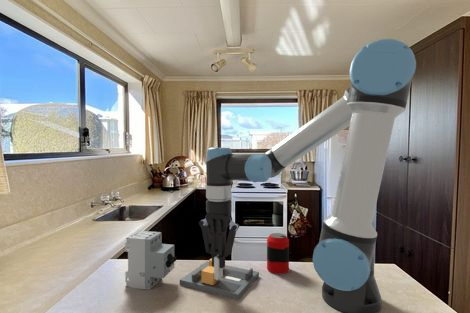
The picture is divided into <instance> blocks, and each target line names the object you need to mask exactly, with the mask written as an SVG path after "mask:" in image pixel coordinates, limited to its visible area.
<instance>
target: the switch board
mask: <svg viewBox="0 0 470 313" xmlns="http://www.w3.org/2000/svg"><path fill="white" fill-rule="evenodd" d="M208 266H209V260H208V261H205V262H204V263H203V264H201V265H199V266H198V267H196V268H195V269H194V270H192V271H191V272H189V273H188V274H187V275H185V276H183V277H181V278H180V279H179V285H180V286H184V287H187V288H192V289H195V290H199V291H202V292H206V293H211V294H213V295H218V296H220V297H226V298H229V299H232V300H237V301H239V299H241V297H242V296H243V295H244V294H245V293H246V291H248V289H250V287H251V286H253V284H254V283H255V282H256V280H257V279H258V278H259V277H260V273H259V271H255V270H254V268H249V269H245V268H243V267H236V266H232V265H226V264H225V269H224V270H223V277H221V278H220V280H218V281H217V282H216V283H215V284H214V285H210V284H206V283H202V282H201V271H202V270H203V269H205V268H206V267H208Z"/></svg>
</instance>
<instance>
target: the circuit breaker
mask: <svg viewBox="0 0 470 313" xmlns="http://www.w3.org/2000/svg"><path fill="white" fill-rule="evenodd" d="M162 234H163V233H162V231H161V232H160V231H145V230H142V231H141V230H139V231H137V232H135V233H133V234H131V235H129V236H127V237H125V239H126V242H125V244H124V246H125V247H124V249H125V250H124V252H126V253H127V270H126V271H125V272H124V273H125V274H124V275H125V288H127V287H129V288H133V289H142V290H143V289H144V290H151V289H152V288H153V287H154V286H155V285H156V284H157V283H158V282H159V281H160V280H161V279H164V278H165V277H166V276H167V275H168V274H169V273H171V271H173V270H174V269H175V262H176V261H177V256H175V244H168V243H163V242H162V240H163V238H162Z"/></svg>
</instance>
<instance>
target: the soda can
mask: <svg viewBox="0 0 470 313" xmlns="http://www.w3.org/2000/svg"><path fill="white" fill-rule="evenodd" d="M266 269H267V270H268V272H269V273H272V274H274V275H275V274H276V275H283V274H286V273H288V272H289V271H290V239H289V238H288V237H287V234H285V233H281V232H274V233H270V234H269V236H268V237H267V239H266Z"/></svg>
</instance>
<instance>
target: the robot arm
mask: <svg viewBox="0 0 470 313" xmlns="http://www.w3.org/2000/svg"><path fill="white" fill-rule="evenodd" d="M416 69H417V60H416V57H415V53H414V52H413V50H412V49H411V47H410V46H409V45H407V44H406V43H404V42H403V41H401V40H398V39H395V38H382V39H377V40H374V41H372V42H369V43H368V44H365V45H364V46H363V47H361V49H359V50H358V52H357V53H356V54H355V55H354V57H353V59H352V61H351V64H350V68H349V79H350V85H349V86H350V87H348V88H347V89H346V90H345V91H344V94H343V96H341V98H339V99H338V100H337V101H335V102H334V103H332V104H331V105H329V106H328V107H327V108H325V109H324V110H323V111H322V112H320V113H318V114H317V115H316V116H315V117H313V118H311V119H310V120H309V121H308V122H306V123H305V124H303V125H302V126H300V127H298V128H297V129H296V130H295V131H293V132H292V133H290V134H289V135H288V136H286V137H285V138H284V139H282V140H281V141H279V142H278V143H276V145H275V144H274V146H273V147H272V148H270V149H268V150H267V151H266V152H264V153H262V154H255V153H254V154H253V153H252V154H251V153H250V154H234V153H233V152H232V148H230V147H209V148H208V149H207V150H206V161H205V165H206V167H205V169H206V170H205V171H206V184H205V186H206V187H205V188H206V189H205V198H206V201H205V211H206V215H205V218H204V219H201V220H200V221H199V222H198V225H199V227H200V228H201V232H202V237H203V238H202V239H203V242H204V249H205V253H206V254H209V255H211V258H212V266H213V267H214V279H216V280H219V279H220V278H221V277H223V268H224V267H225V265H226V258H227V257H228V256H230V255H231V254H232V251H233V248H234V243H235V237H236V234H237V231H238V229H239V228H240V224H239V223H236V222H234V221H233V217H232V200H231V199H232V181H241V182H242V181H243V182H251V183H252V182H253V183H265V182H267V181H268V180H269V179H271V178H275V177H277V176H278V175H280V174H281V173H282V171H283V170H284V169H286V168H287V167H289V166H291V164H293V163H295V162H296V161H298V160H299V159H300V158H303V157H304V156H306V155H307V154H308V153H310V152H312V151H313V150H315V149H316V148H318V147H319V146H321V145H322V144H324V143H325V142H327V141H329V140H330V139H332V138H333V137H334V136H336V135H337V134H339V133H340V132H342V131H344V130H345V129H347V128H348V132H347V138H346V141H345V142H346V143H345V147H344V152H343V157H342V161H341V162H342V163H341V166H340V171H339V177H338V181H337V186H336V192H335V196H334V201H333V202H334V203H333V206H332V210H331V211H332V212H331V214H330V215H328V216H326V217H324V219H323V222H322V227H321V231H320V235H319V236H320V237H319V241H318V243H317V244H316V246H315V247H314V249H313V253H312V265H313V268H314V270H315V272H316V273H317V275H318V276H319V278H320V280H322V281H323V283H322V286H321V297H322V299H323V301H324V302H325V303H326V304H327V305H328V306H331V308H334V309H335V310H338V311H340V312H343V313H379V312H380V311H381V309H382V295H381V292H380V289H379V286H378V284H377V280H376V278H375V277H376V276H375V247H376V243H377V237H378V232H377V231H376V229H375V223H374V221H373V220H374V216H375V210H376V207H377V202H378V197H379V192H380V187H381V185H382V184H381V183H382V180H383V179H382V178H383V175H384V170H385V165H386V162H387V161H386V160H387V156H388V151H389V147H390V142H391V138H392V133H393V128H394V124H395V120H396V118H397V117H398V116H400V115H401V114H403V113H404V112H405V111H406V108H407V104H408V99H409V94H410V89H411V85H412V80H413V77H414V75H415V72H416ZM228 227H229V231H228ZM227 232H228V236H227Z"/></svg>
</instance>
